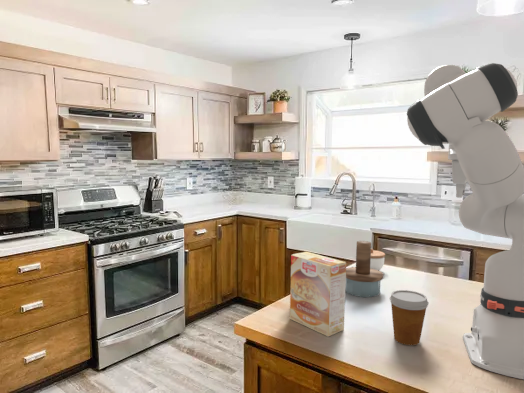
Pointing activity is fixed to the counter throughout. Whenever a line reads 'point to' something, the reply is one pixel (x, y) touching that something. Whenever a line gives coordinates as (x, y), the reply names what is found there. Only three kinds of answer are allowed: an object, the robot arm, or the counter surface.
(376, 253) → the lidded jar
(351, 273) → the lid
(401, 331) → the disposable coffee cup
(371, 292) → the bowl
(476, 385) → the counter surface
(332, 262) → the coffeecake box
